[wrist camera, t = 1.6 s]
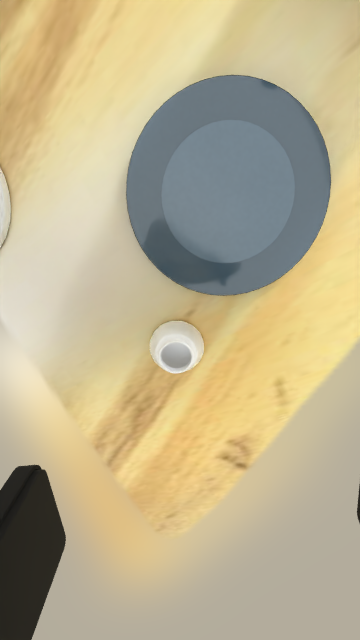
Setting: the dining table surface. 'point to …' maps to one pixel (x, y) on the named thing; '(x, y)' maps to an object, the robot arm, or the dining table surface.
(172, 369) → the lidless jar
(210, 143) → the plate
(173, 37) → the dining table surface
